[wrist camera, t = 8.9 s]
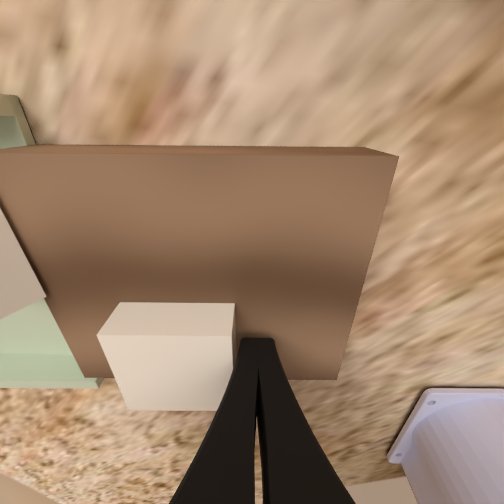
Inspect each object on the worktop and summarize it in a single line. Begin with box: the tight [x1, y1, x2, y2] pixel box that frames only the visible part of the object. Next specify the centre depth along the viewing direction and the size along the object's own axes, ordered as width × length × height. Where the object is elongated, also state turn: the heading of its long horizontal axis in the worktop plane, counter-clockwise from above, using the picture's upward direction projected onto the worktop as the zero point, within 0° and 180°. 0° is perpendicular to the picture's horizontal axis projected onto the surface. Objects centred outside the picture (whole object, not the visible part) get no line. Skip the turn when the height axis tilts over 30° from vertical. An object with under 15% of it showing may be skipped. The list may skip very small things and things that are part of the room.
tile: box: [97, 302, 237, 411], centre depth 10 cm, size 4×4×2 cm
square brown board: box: [0, 144, 399, 380], centre depth 10 cm, size 10×12×2 cm
